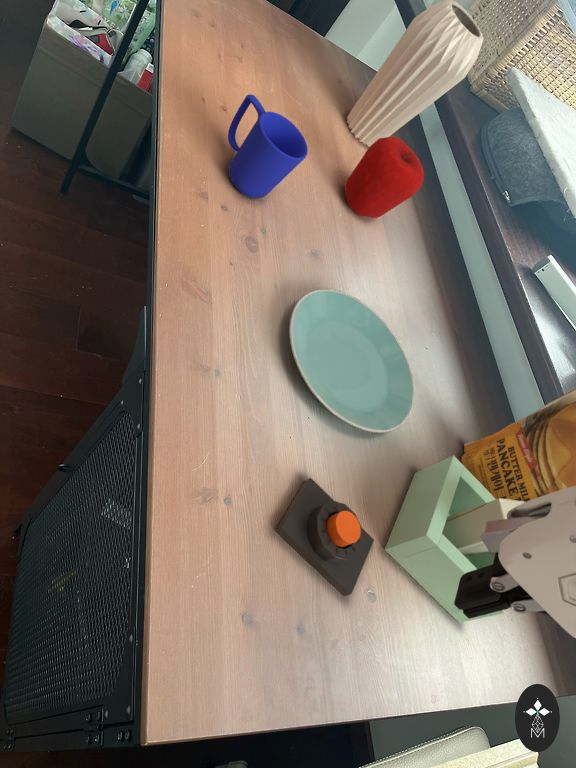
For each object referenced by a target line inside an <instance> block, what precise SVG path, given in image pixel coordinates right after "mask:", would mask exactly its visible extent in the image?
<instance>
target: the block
mask: <svg viewBox="0 0 576 768" xmlns="http://www.w3.org/2000/svg"><path fill="white" fill-rule="evenodd" d="M341 511H349V512H351V513H352V514H353V515H354V516H355V517H356V518H357V520H358V522H359V524H360V528H361V534H360V537H359V539H358V540H357V541H356V542H355V543H352V544H349V545H347V546H344V547H339V546H336V545H335V544H333V543H332V542H331V540H330V539H329V537H328V534H327V532H326V523H327V520H328V518H329V517H330V516H332V515H334V514H337V513H339V512H341ZM275 532H276V533H277V534H278V535H279V536H280V537H281V538H282V539H283V540H284V541H285V542H287V543H288V544H289V545H290V546H291V547H292V548H293V549H294V550H295V551H296V552H297V553H298V554H299V555H301V557H302V558H303V559H304V560H306V562H308V563H309V564H310V565H311V566H312V567H313V568H314V569H315V570H316V571H317V572H318V573H319V574H320V575H321V576H322V577H323V578H325V579H326V580H327V581H328V583H330V584H331V586H333V587H334V588H335V589H336V590H337V591H338V592H339V593H341V594H342V596H343V597H348V596H350V595H352V593H353V592H354V589H355V587H356V584H357V582H358V579H359V577H360V575H361V572H362V570H363V567H364V565H365V563H366V560H367V558H368V556H369V554H370V551H371V549H372V546H373V544H374V542H375V539H374V538H373V537H372V536H371V535H370V534H369V533H368V532H367V531H366V529H364V528H363V527H362V525H361V523H360V520H359V518H358V517H357V514H356V513H355V512H354V511H353V510H352V509H351V508H350V507H349V506H348V505H347V504H345V503H343V502H341V501H336V500H335V499H333V498H332V497H331V496H330V495H329V494H328V493H327V492H326V491H325V490H324V489H323V488H322V487H321V485H318V484H317V482H316V481H315V480H314V479H313V478H312V477H309V478H306V479H305V480H304V481H303V483H302V484H301V486H300V488H298V491H297V492H296V494H295V496H294V498H293V500H292V502H291V503H290V505H289V506H288V508H287V510H286V511H285V513H284V515H283V517H282V518H281V520H280V522H279V524H278V525H277V527H276V529H275Z"/></svg>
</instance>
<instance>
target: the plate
mask: <svg viewBox="0 0 576 768" xmlns="http://www.w3.org/2000/svg"><path fill="white" fill-rule="evenodd" d="M288 331H289V332H288V334H289V336H288V337H289V344H290V348H291V353H292V356H293V360H294V362H295V364H296V367H297V369H298V372H299V374H300V376H301V377H302V379H303V382H304V383H305V384H306V386H307V387H308V389H309V390H310V392H311V393H312V394H313V396H314V397H315V398H316V400H318V401H319V403H321V405H323V406H324V407H325V408H326V409H327V410H328V411H329V412H330V413H331V414H333V415H334V416H335V417H336V418H338V419H339V420H341V421H342V422H344V423H345V424H347V425H349V426H352V427H354V428H357V429H359V430H362V431H365V432H370V433H379V434H383V433H391V432H392V431H395V430H397V429H399V428H400V427H402V426H403V425H404V424H405V423H406V421H408V419H409V417H410V415H411V413H412V410H413V408H414V403H415V393H416V392H415V391H416V390H415V381H414V375H413V372H412V367H411V365H410V361H409V359H408V357H407V355H406V353H405V351H404V349H403V347H402V345H401V343H400V342H399V340H398V338H397V337H396V335H395V334H394V332H393V331H392V330H391V328H390V327H389V325H388V324H387V323H386V322H385V321H384V319H383V318H381V316H380V315H378V313H376V311H375V310H373V309H372V308H371V307H369V305H367V304H366V303H364V302H363V301H362V300H360V299H358V298H356V297H354V296H352V295H350V294H348V293H346V292H343V291H340V290H335V289H327V288H324V289H323V288H321V289H315V290H312V291H309V292H307V293H306V294H304V295H302V296H301V297H300V298H299V299H298V301H297V302H296V304H294V307H293V309H292V312H291V314H290V318H289V327H288Z"/></svg>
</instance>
